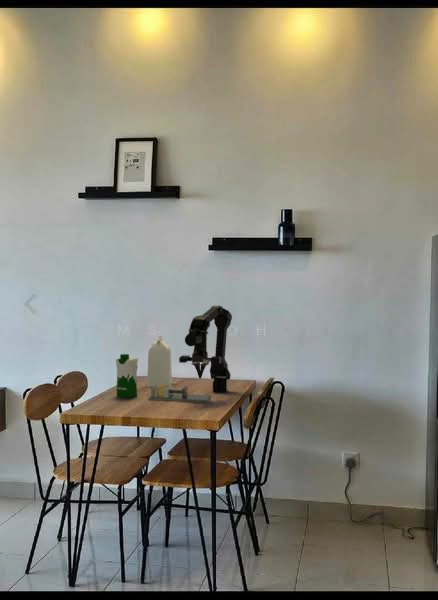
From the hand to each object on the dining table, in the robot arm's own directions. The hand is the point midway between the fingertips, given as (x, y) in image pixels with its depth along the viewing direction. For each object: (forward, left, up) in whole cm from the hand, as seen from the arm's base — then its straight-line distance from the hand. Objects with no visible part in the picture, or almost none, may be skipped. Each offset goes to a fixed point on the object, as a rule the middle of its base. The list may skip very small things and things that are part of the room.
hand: (200, 378), depth 283 cm
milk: (+28, -34, -10) cm, 45 cm away
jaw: (+11, 0, -9) cm, 14 cm away
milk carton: (+35, 0, -10) cm, 36 cm away
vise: (+9, 0, -10) cm, 14 cm away
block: (+18, 0, -9) cm, 20 cm away
